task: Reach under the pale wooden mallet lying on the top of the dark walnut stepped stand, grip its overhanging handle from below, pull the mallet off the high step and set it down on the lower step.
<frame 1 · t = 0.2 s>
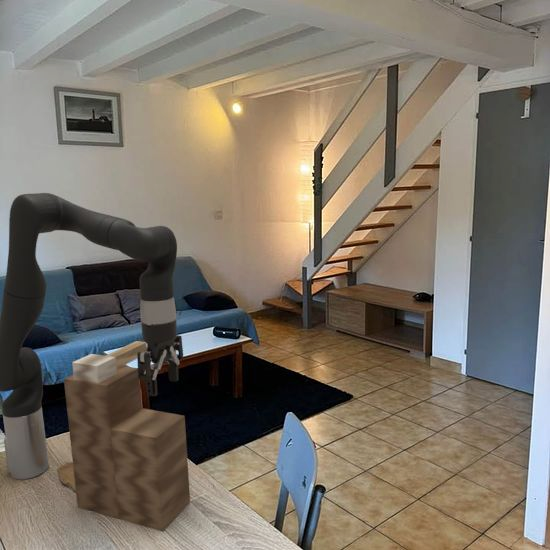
hand: (163, 387, 117), 29 cm above the table, tool pointing down, fingers open, 8 cm apart
stepped stand: (134, 504, 123), on the table
mallet: (95, 376, 117), point 32 cm above the table, touching stepped stand
pottery shard: (76, 478, 135), on the table
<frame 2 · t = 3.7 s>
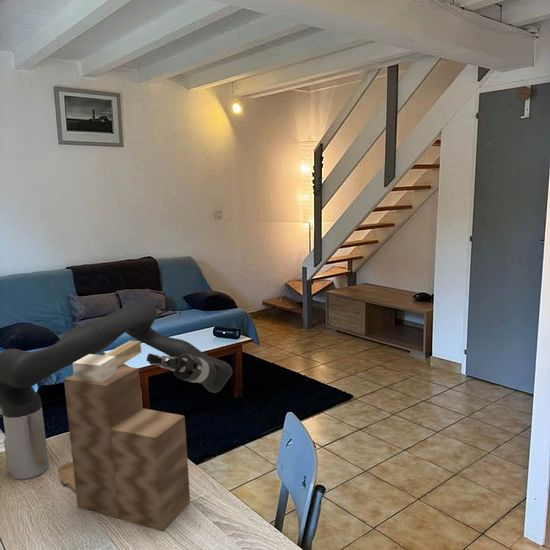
hand: (161, 359, 140), 28 cm above the table, tool pointing upward, fingers open, 8 cm apart
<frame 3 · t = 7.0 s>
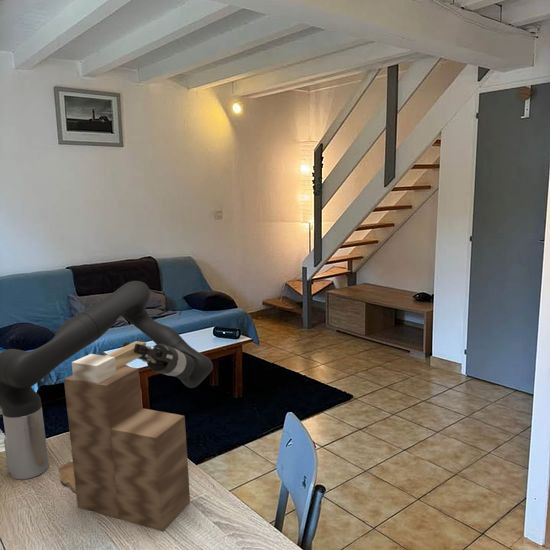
hand: (130, 347, 128), 35 cm above the table, tool pointing upward, fingers closed on mallet, 3 cm apart
mallet: (95, 376, 117), point 32 cm above the table, touching gripper, stepped stand
everything else where it was.
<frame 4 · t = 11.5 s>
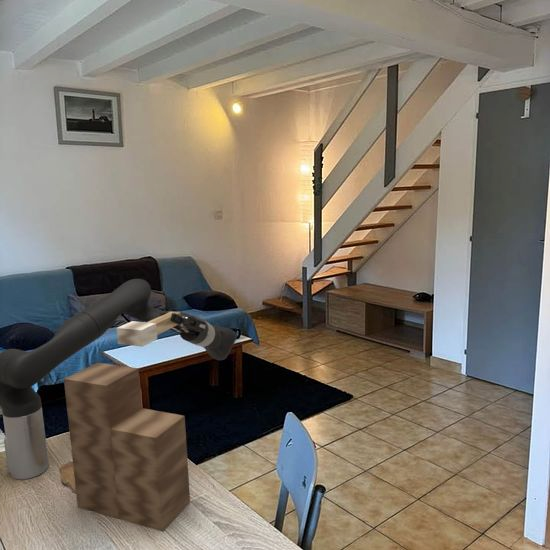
hand: (166, 316, 137), 40 cm above the table, tool pointing upward, fingers closed on mallet, 3 cm apart
mallet: (137, 341, 126), point 37 cm above the table, touching gripper
everything else where it was.
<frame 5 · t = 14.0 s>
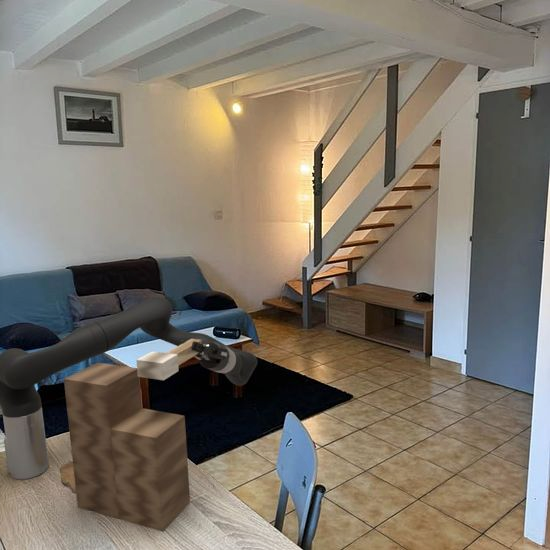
hand: (187, 344, 130), 35 cm above the table, tool pointing upward, fingers closed on mallet, 3 cm apart
mallet: (158, 373, 119), point 32 cm above the table, touching gripper
everything else where it was.
when the fingers open (26 cm above the table, at t = 16.1 s): mallet drops 1 cm, resting on stepped stand.
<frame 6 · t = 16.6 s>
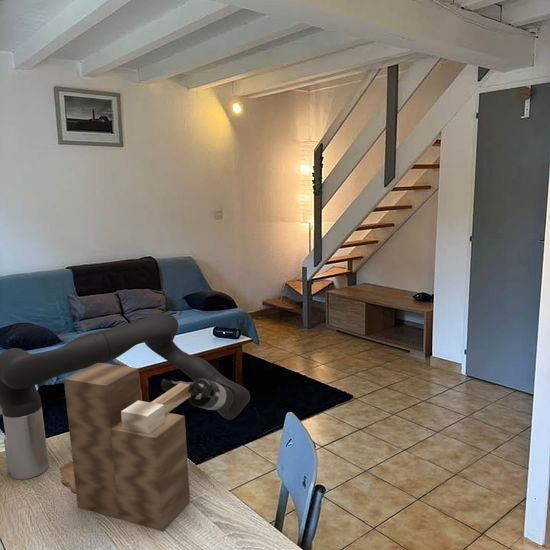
hand: (176, 385, 126), 26 cm above the table, tool pointing upward, fingers open, 7 cm apart
mallet: (144, 424, 115), point 22 cm above the table, touching stepped stand
everything else where it was.
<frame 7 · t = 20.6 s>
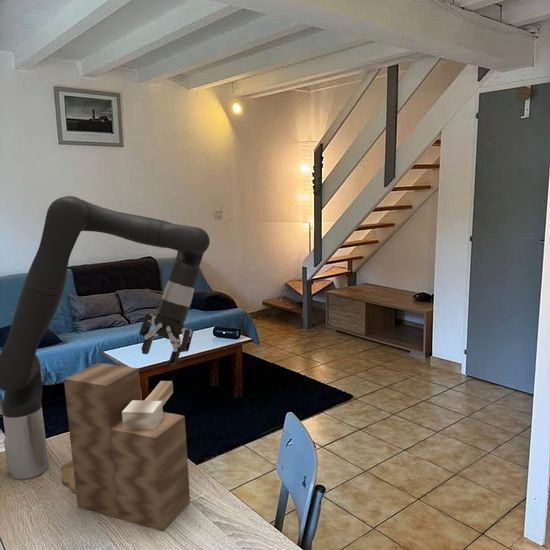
hand: (158, 359, 137), 29 cm above the table, tool tilted 20°, fingers open, 8 cm apart
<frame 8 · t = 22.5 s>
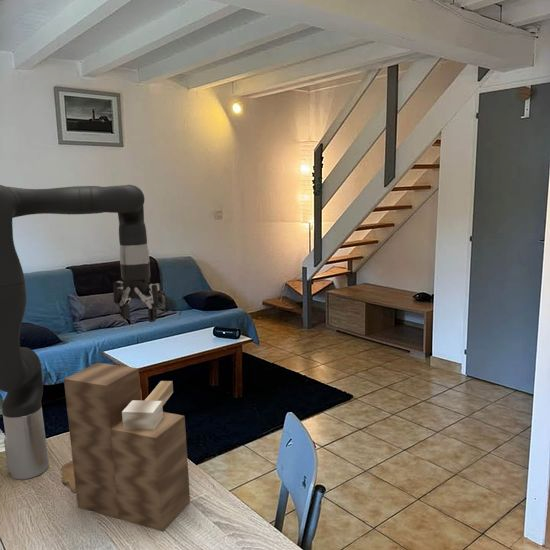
hand: (139, 320, 141), 38 cm above the table, tool pointing down, fingers open, 8 cm apart
at the end: mallet inside the target area (1.0 cm from its centre), point 22.0 cm above the table; mallet tilted 0°; the gripper is holding nothing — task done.
